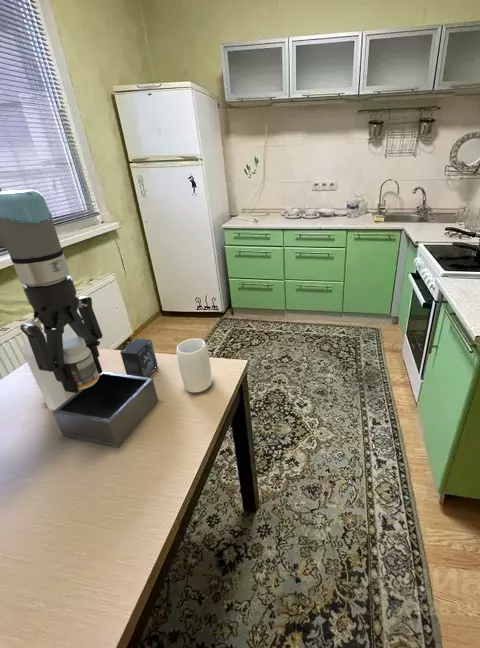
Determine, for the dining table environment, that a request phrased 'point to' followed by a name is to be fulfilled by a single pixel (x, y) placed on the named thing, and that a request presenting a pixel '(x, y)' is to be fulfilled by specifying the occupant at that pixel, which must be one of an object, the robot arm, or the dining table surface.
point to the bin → (107, 409)
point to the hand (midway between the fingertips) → (84, 380)
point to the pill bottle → (80, 362)
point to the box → (139, 358)
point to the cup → (194, 365)
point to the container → (49, 376)
